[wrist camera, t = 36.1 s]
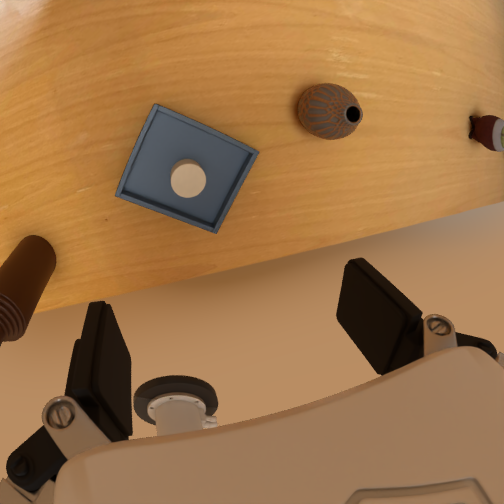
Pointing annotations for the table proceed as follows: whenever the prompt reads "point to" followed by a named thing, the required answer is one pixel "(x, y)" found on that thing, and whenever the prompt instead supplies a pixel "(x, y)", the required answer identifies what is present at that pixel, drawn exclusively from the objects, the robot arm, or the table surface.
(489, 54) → the table surface
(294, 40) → the table surface
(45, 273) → the bottle
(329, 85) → the vase
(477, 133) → the mate gourd
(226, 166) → the tray
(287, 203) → the table surface
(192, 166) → the cap
